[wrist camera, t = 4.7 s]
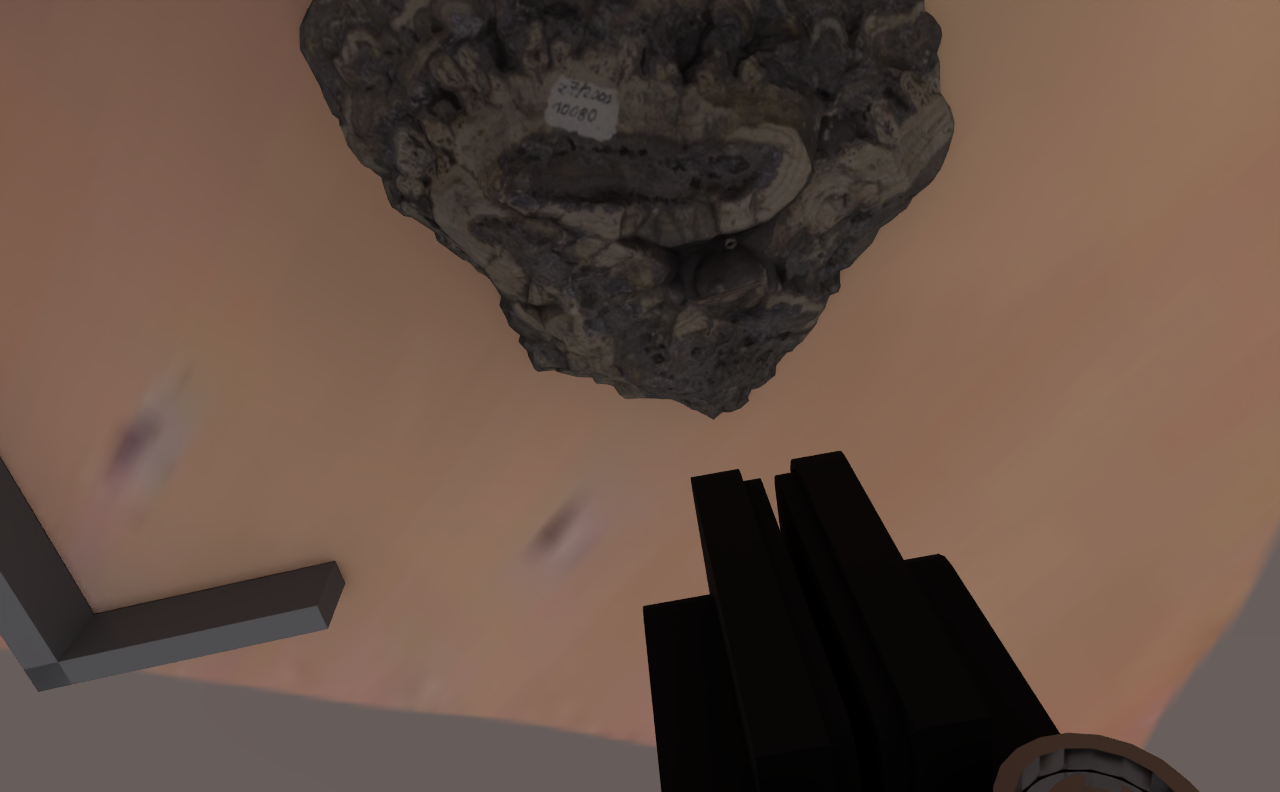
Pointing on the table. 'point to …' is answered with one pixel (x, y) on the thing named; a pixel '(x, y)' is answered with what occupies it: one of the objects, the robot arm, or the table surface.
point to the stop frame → (136, 610)
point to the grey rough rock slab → (644, 163)
